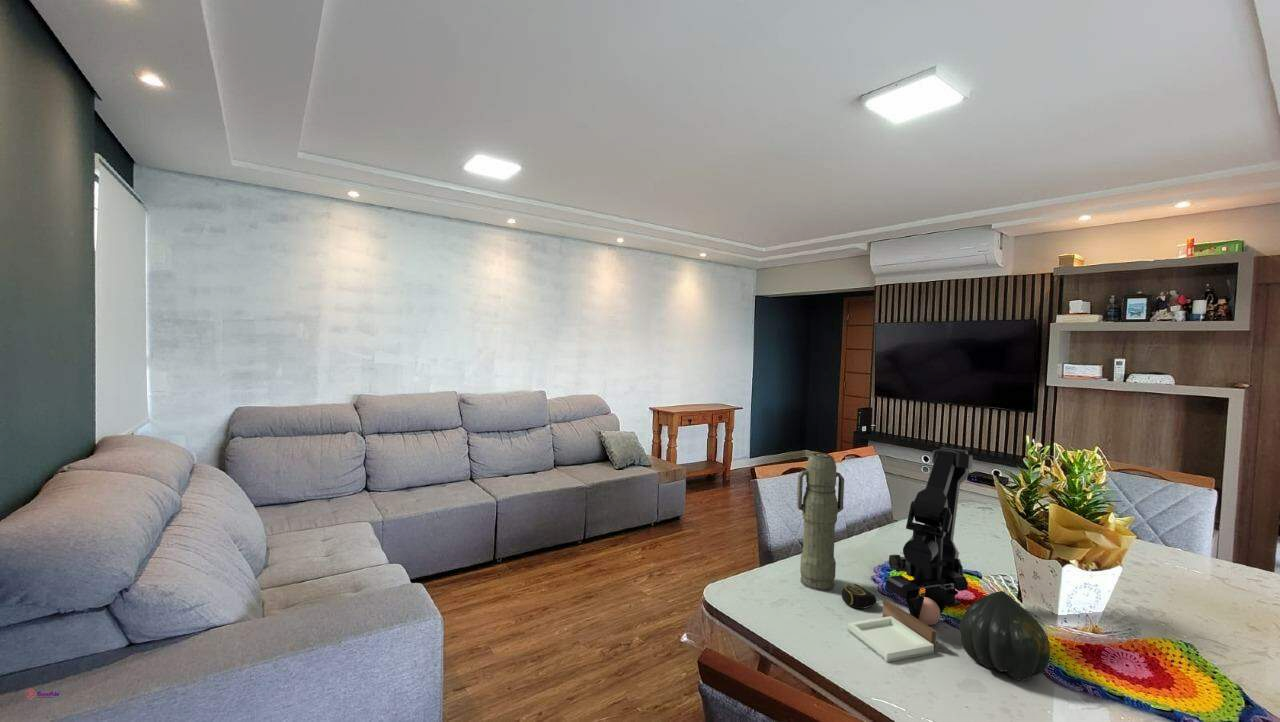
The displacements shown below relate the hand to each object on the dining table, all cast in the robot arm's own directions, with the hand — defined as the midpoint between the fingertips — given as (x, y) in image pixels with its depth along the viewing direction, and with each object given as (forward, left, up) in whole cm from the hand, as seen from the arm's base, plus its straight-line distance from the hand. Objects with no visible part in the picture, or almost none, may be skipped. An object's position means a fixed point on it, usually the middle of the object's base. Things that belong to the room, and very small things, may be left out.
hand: (925, 619), depth 122 cm
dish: (+14, +4, -1) cm, 15 cm away
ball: (0, 0, -1) cm, 1 cm away
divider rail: (+7, +2, -1) cm, 7 cm away
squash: (-2, +17, -1) cm, 17 cm away
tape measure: (+9, -12, -1) cm, 15 cm away
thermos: (+12, -24, -1) cm, 27 cm away
